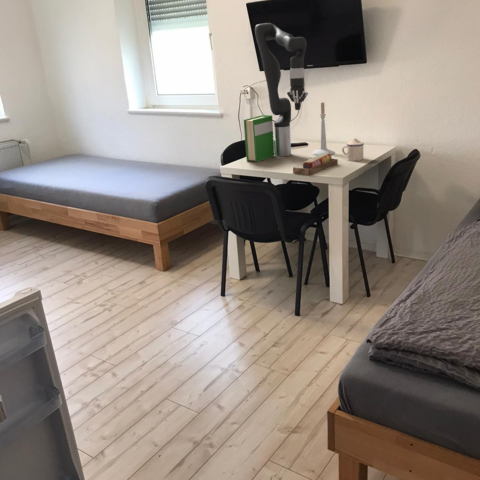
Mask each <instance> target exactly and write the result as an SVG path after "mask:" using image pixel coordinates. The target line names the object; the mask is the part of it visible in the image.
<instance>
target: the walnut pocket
mask: <svg viewBox="0 0 480 480" xmlns="http://www.w3.org/2000/svg"><path fill="white" fill-rule="evenodd" d="M338 160H339V159H337V158H332V160H331V161H329V162H327V163H324V164H321V165H319V166H316V167H313V168H310V169H305V168H303V167H296V166H293V167H292V173H293V174H298V175H303V174H304V175H305V176H312V175H314V174H316V173H319V172H322V171H324V170H325V171H326V170H328V169H331V168H333V167H334V166H335V167H336V166H338Z"/></svg>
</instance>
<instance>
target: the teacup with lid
mask: <svg viewBox="0 0 480 480" xmlns="http://www.w3.org/2000/svg"><path fill="white" fill-rule="evenodd" d="M364 145H365V143H364V141H360V140H359V139H358V138H357V137H353V140H351V141H349V142H347V143H346V145H344V146H342V149H341V151H342V154H344V155H345V156H347V157H346V159H347V160H348V161H350V162H359V161H363V160H364ZM345 148H347V150H346V151H347V152H345V150H344V149H345Z"/></svg>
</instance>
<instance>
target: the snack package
mask: <svg viewBox="0 0 480 480" xmlns="http://www.w3.org/2000/svg"><path fill="white" fill-rule="evenodd" d="M332 159H333V158H332V155H331V154H330V153H326V152H324V153H321V154H319V155H317V156H316V155H314V156H313V157H311V158H310V159H308V160H305V161H304V162H302V168H305V169H310V168H313V167H316V166H319V165H321V164H324V163H327V162H329V161H331V160H332Z"/></svg>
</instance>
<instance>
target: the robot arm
mask: <svg viewBox="0 0 480 480" xmlns="http://www.w3.org/2000/svg"><path fill="white" fill-rule="evenodd" d="M254 34H255V35H254V36H255V40H256V43H257V45H258V49H259V53H260V58H261V62H262V67H263V73H264V77H265V80H266V87H267V92H268V101H269V108H270V111H271V113H272V114H273V115H274V116H278V118H277V119H276V120H275V121H274V122H273V131H274V138H273V141H274V156H275V157H288V156H292V146H291V145H292V144H291V141H292V139H291V121H292V105H291V103H292V102H293V103H294V110H295V111H299V110H301V103H303V102H304V101H305V99H306V97H307V96H308V95H309V93H308V92H306V91H305V87H304V86H305V70H304V66H305V65H304V59H305V54H306V50H307V47H308V46H307V40H306V38H305V37H303V36H296V37H294V35H292V34H291V33H288V32H286V31H284V30H282V29H280V28H279V27H278V26H276V25H275V24H273V23H271V22H265V23H259V24H256V25H255V28H254ZM271 40H275V41H276V43H277V44H278V45H279V46H282V47H284V48H285V49H286V51H288V52H291V53H292V52H295V53H296V54H295V55H294V56H291V57H290V59H289V63H290V65H289V66H290V68H289V70H290V71H289V80H290V81H289V87H290V90H289V91H287V93H286V94H287V96H288V98H287V97H280V96H279V85H280V81H281V78H282V77H281V76H282V71H281V67H280V62H279V61H278V59H277V57H276V56H275V55H274V54H273V53H272V52H271V50H270V49H269V46H268V44H267V41H271Z"/></svg>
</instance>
